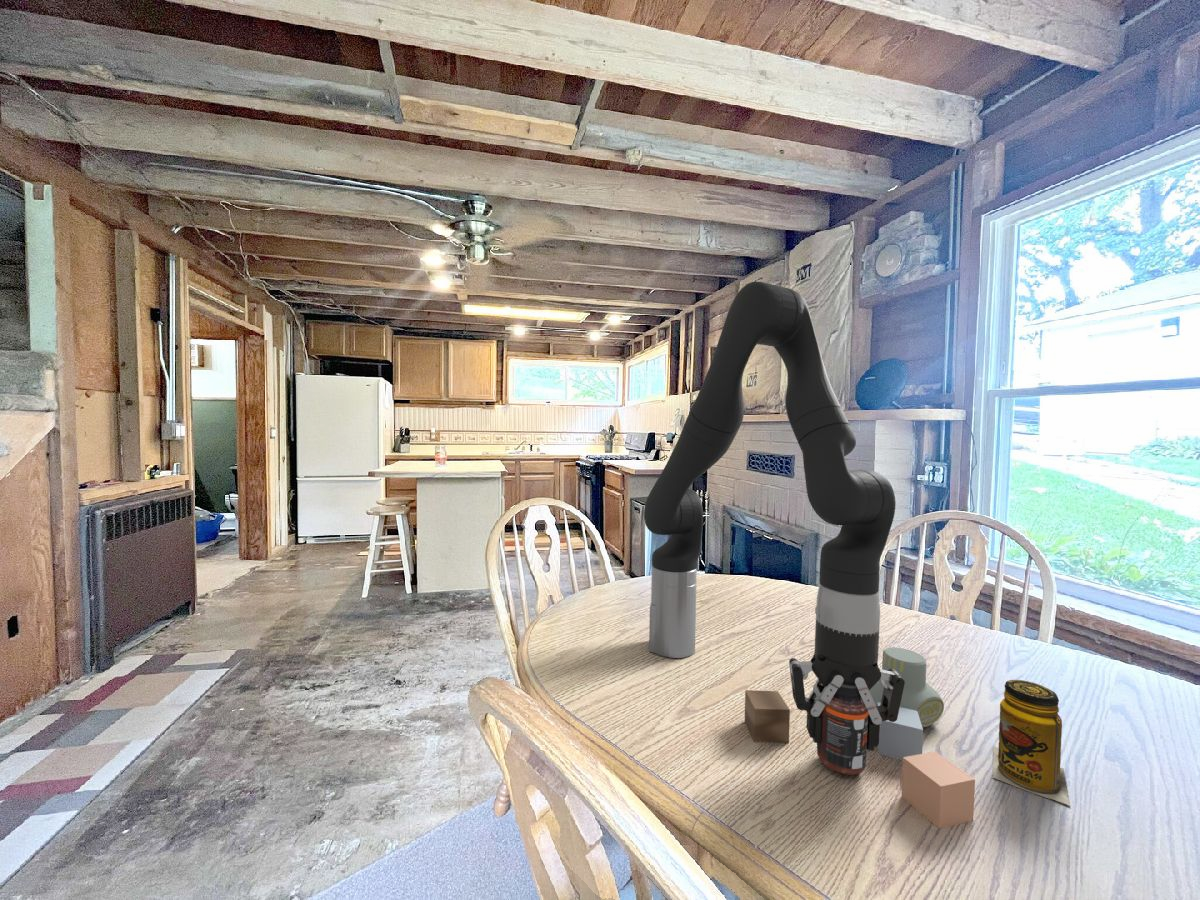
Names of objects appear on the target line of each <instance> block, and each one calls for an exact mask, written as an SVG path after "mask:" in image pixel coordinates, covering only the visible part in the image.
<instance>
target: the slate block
mask: <svg viewBox="0 0 1200 900" xmlns="http://www.w3.org/2000/svg"><path fill="white" fill-rule="evenodd" d="M880 704H881V703H880V702H877V706H880ZM923 728H924V727H922V724H921V721H920V718H919V715H918V712H917V711H915V710H911V709H907V708H902V707H900V708H899V713H898V718H897V720H896V721H895V722H891V721H889V720H886V721H883V722H882V723H881V724H880V733H879V744H878V746H877V748H878V754H879V755H882V756H885V757H888V758H893V759H897V760H899V761H903V757H907V756H913V755H918V754H923V747H924V745H923V741H924V729H923Z"/></svg>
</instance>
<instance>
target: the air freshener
mask: <svg viewBox="0 0 1200 900" xmlns="http://www.w3.org/2000/svg"><path fill="white" fill-rule="evenodd" d="M881 659H882V661H881V662H882V663H881V669H882V670H887V671H888V670H889V669H894V670H896V671H897V672H898V673H899V675H900V676H901V677H902V678H903V680H904V681H905V684H904V689H903V694H902V699H901V703H900V707H902V708H907V709H911V710H915V711H917V712H918V715H919V718H920V721H921V724H922V728H926V727H929V726H932V725H934V724H936V722H937V721H938V720H940V718H941V717H942V715H943V714H944V709H945V703H944V700H943V698H942V697H941V695H940V693H938V692H937V691H936V689H935V688H934V687H933V686H931V685H930V684H928V683H927V660H926V659H925V658H924V656H923V655H921V654H920V653H918V652H916V651H913V650H910V649H907V648H903V647H894V646H892V647H886V648H885V649H884V650H882V658H881ZM883 690H884V685H883V684H882V682H881V679H880V680H879V681H878V682H877V683H876V684H875V685H874V686H873V687H872V688H871V689H870V690H869V692H870V694H871V696H872V698H873V700H874V702H875V705H876V706H877V702H880V703H881V699H882V695H883Z"/></svg>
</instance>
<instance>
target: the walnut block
mask: <svg viewBox="0 0 1200 900" xmlns="http://www.w3.org/2000/svg"><path fill="white" fill-rule="evenodd" d="M744 696H745V697H744V723H745V726H746V727H747V730H748V732H749V735H750V736H751V738H752V741H753V742H754V743H768V744H769V743H772V744H773V743H774V744H775V743H776V744H777V743H779V744H790V722H791V721H790V720H791V719H790V717H791V716H790V714H791V710H790V708H789V706H788V704H787V703H786V701H785V700H784V699H783V697H782V695H781V694H780V692H779V691H777V690H750V689H749V690H748V689H746V690H745V695H744Z"/></svg>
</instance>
